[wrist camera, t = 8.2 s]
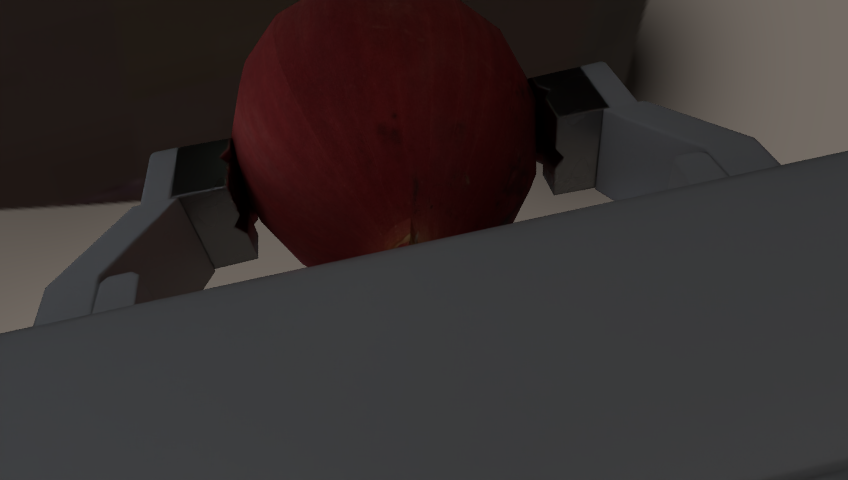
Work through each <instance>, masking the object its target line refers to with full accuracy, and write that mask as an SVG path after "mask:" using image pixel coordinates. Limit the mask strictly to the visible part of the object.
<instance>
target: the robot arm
mask: <svg viewBox="0 0 848 480" xmlns="http://www.w3.org/2000/svg"><path fill="white" fill-rule="evenodd" d="M528 83H529V85H530V87H531V89H532V91H533V94H534V96H535V98H536V161H537V162H539V163H541V164H543V176H544V178H545V179H546V181H547V183H548V185H549V187H550V189H551V191H552V192H553V194H554V195H558V194H563V193H568V192H574V191H579V190H585V189H590V188H595V187H596V188H595V189H596V190H597V191H599V192H601V193H602V194H604V195H606V196H607V197H609V198H610V199H612V200H614V201H613V202H609V203H603V204H599V205H594V206H590V207H585V208H580V209H576V210H571V211H567V212H562V213H557V214H552V215H548V216H544V217H538V218H534V219H529V220H525V221H520V222H515V223H511V224H506V225H501V226H497V227H492V228H488V229H483V230H478V231H474V232H469V233H464V234H460V235H455V236H450V237H446V238H441V239H437V240H432V241H427V242H423V243H418V244H413V245H409V246H404V247H399V248H395V249H390V250H385V251H381V252H376V253H372V254H367V255H362V256H358V257H353V258H348V259H344V260H339V261H334V262H330V263H325V264H321V265H316V266H311V267H307V268H302V269H297V270H293V271H288V272H283V273H279V274H274V275H270V276H265V277H260V278H256V279H251V280H246V281H242V282H237V283H233V284H228V285H223V286H219V287H214V288H210V289H205V290H203V289H204V287H205V286H206V284H207V283H208V281H209V280H210V278H211V277H212V275H213V274H214V272H215V269H216V268H220V267H225V266H228V265H233V264H237V263H241V262H246V261H249V260H254V259H257V258H258V233H257V231H256V228H255V226H254V224H255V222H256V221H257V220H258V215H257V213H256V212H255V210H254V208H253V207H252V205H251V203H250V200H249V197H248V193H247V190H246V186H245V183H244V180H243V176H242V173H241V169H240V166H239V163H238V159H237V155H236V151H235V147H234V144H233V140H232V138H228V139H222V140H217V141H211V142H206V143H201V144H195V145H190V146H184V147H180V148H178V147H177V148H173V149H168V150H163V151H159V152H154V153H153V154H152V155H151V156H150V161H149V165H148V170H147V175H146V180H145V185H144V190H143V195H142V200H141V205H139V206H135V207H132V208H131V209H130V210H129V211H128V212H127V213H126V214H125V215H124V216H122V217H121V219H119V220H118V221H117V222H116V223H115V224H114V225H113V226H112V227H111V228H110V229H108V230H107V232H105V233H104V234H103V235H102V236H101V237H100V238H99V239H98V240H97V241H96V242H94V243H93V245H91V246H90V247H89V248H88V249H87V250H86V251H85V252H84V253H83V254H82V255H81V256H79V257H78V258H77V259H76V260H75V261H74V262H73V263H72V264H71V265H70V266H69V267H68V268H67V269H65V270H64V271H63V272H62V273H61V274H60V275H59V276H58V277H57V278H56V279H55V280H54V281H53V282H51V283H50V284H49V285H48V286H47V287H46V288H45V291H44V294H43V297H42V301H41V303H40V307H39V309H38V313H37V316H36V319H35V322H34V325H33V327H28V328H24V329H19V330H15V331H10V332H5V333H1V334H0V480H848V151H845V152H841V153H836V154H831V155H826V156H822V157H817V158H812V159H808V160H803V161H798V162H794V163H790V164H785V165H780V163H779V162H777V160H776V159H775V158H774V157H773V156H772V155H771V154H770V153H769V152H768V151H767V150H766V149H765V148H764V147H763V146H762V145H761V144H760V143H759V142H758V141H757V140H756V139H755V138H753V137H750V136H747V135H744V134H741V133H738V132H735V131H733V130H729V129H727V128H724V127H721V126H718V125H715V124H712V123H709V122H706V121H703V120H700V119H697V118H694V117H691V116H688V115H686V114H682V113H679V112H677V111H674V110H671V109H668V108H665V107H662V106H659V105H656V104H653V103H650V102H647V101H641V102H637V101H636V99H635V98H634V97H633V96H632V94H631V93H630V92H629V91H628V89H627V88H626V87H625V86H624V85H623V83H622V82H621V81H620V80H619V79H618V77H617V76H616V75H615V74H614V72H613V71H612V70H611V69H610V68H609V66H608V65H607V64H606V63H605V62H597V63H592V64H588V65H584V66H580V67H577V68H572V69H568V70H564V71H559V72H555V73H550V74H546V75H542V76H537V77H533V78H529V79H528Z"/></svg>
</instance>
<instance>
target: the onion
mask: <svg viewBox="0 0 848 480" xmlns="http://www.w3.org/2000/svg"><path fill="white" fill-rule="evenodd" d="M231 136H232V140H233V144H234V147H235V151H236V155H237V159H238V163H239V166H240V169H241V173H242V176H243V180H244V183H245V186H246V190H247V193H248V197H249V200H250V203H251V205H252V207H253V208H254V210H255V212H256V213H257V215H258V217H259V219H260V220H261V222H262V223H263V224H264V225H265V226H266V227H267V228H268V229H269V230H270V231H271V232H272V233H273V234H274V235H275V236H276V237H277V238H278V239H279V240H280V241H281V242H282V243H283V244H284V245H285V246H286V247H287V248H288V250H289V251H290V252H292V254H293V255H294V256H295V257H296V258H297V259H298V260H299V261H300V262H301V263H302V264H303V265H305V266H307V267H311V266H316V265H321V264H325V263H330V262H334V261H339V260H344V259H348V258H353V257H358V256H362V255H367V254H372V253H376V252H381V251H385V250H390V249H395V248H399V247H404V246H409V245H413V244H418V243H423V242H427V241H432V240H437V239H441V238H446V237H450V236H455V235H460V234H464V233H469V232H474V231H478V230H483V229H488V228H492V227H497V226H501V225H506V224H511V223H513V222H514V220H515V218H516V216H517V214H518V212H519V210H520V208H521V206H522V204H523V202H524V200H525V198H526V196H527V194H528V192H529V190H530V188H531V186H532V183H533V180H534V178H535V175H536V98H535V96H534V94H533V91H532V89H531V87H530V85H529V83H528V80H527V78H526V76H525V74H524V72H523V70H522V69H521V67H520V65H519V63H518V61H517V60H516V58H515V56H514V54H513V52H512V51H511V49H510V47H509V45H508V43H507V42H506V40H505V38H504V36H503V34H502V33H501V31H500V29H498V28H497V27H496V26H494V25H493V24H492V23H490V22H489V21H487V20H486V19H485V18H483V17H482V16H481V15H479V14H478V13H476V12H475V11H474V10H472V9H471V8H470V7H468V6H467V5H465V4H464V3H463V2H461V1H460V0H300V1H298V2H297V3H295V4H293V5H292V6H290V7H288V8H287V9H285V10H283V11H282V12H280V13H278V14H277V15H276V16H275V17H274V19H273V20H272V22H271V23H270V25H269V26H268V28H267V29H266V31H265V32H264V34H263V35H262V37H261V38H260V40H259V41H258V43H257V44H256V46H255V47H254V49H253V50H252V52H251V53H250V55H249V56H248V58H247V59H246V61H245V64H244V68H243V73H242V77H241V81H240V85H239V91H238V98H237V104H236V110H235V116H234V122H233V129H232V135H231Z"/></svg>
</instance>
